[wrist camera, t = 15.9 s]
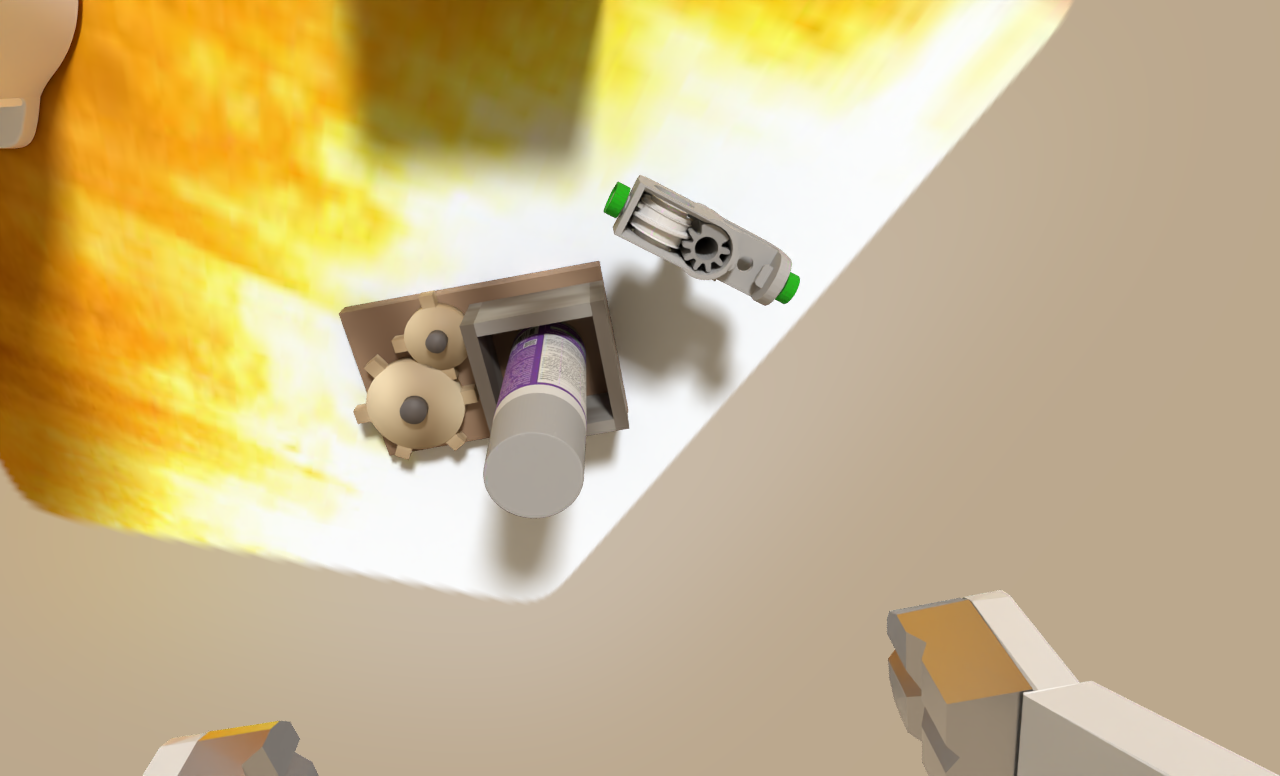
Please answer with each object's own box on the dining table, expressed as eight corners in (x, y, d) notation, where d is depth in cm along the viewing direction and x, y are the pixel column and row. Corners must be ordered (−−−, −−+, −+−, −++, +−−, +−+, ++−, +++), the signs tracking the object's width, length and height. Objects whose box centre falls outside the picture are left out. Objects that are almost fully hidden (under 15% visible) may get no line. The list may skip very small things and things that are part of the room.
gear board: (381, 449, 49) (360, 491, 45) (329, 304, 45) (299, 333, 40) (627, 405, 49) (631, 442, 45) (598, 255, 45) (599, 278, 40)
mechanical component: (741, 269, 46) (780, 321, 37) (594, 193, 43) (597, 229, 34) (765, 227, 45) (812, 269, 36) (617, 147, 42) (626, 171, 33)
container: (519, 392, 47) (492, 528, 33) (504, 323, 45) (469, 438, 31) (591, 381, 47) (594, 513, 33) (579, 312, 45) (577, 422, 32)
